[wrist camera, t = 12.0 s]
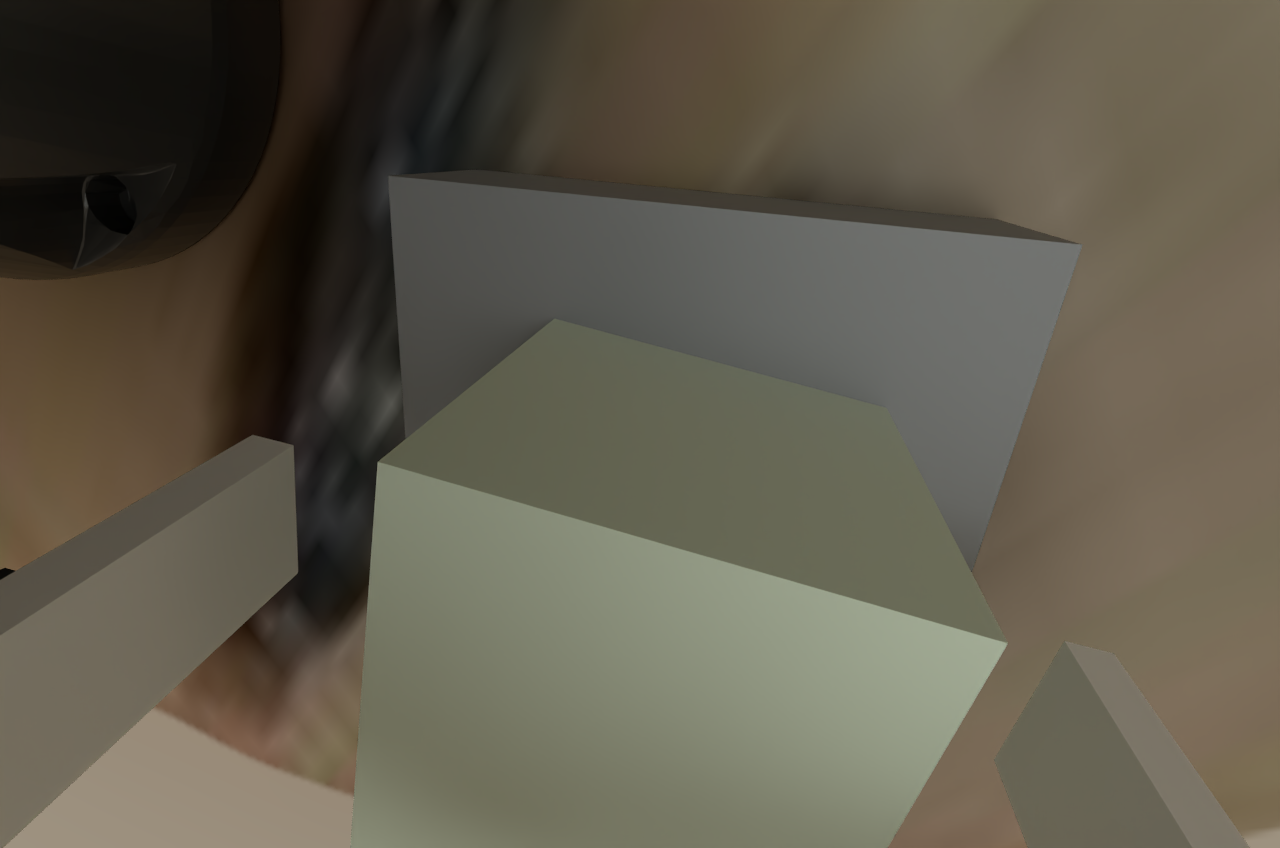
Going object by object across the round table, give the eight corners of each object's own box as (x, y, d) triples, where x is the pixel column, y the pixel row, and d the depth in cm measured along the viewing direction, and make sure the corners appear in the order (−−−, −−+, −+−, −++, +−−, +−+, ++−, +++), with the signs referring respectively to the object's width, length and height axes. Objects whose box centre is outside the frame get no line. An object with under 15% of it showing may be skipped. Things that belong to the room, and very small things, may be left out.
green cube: (507, 585, 16) (349, 857, 10) (554, 318, 14) (378, 461, 7) (779, 665, 16) (795, 1003, 10) (886, 407, 13) (1007, 642, 7)
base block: (488, 570, 23) (421, 675, 18) (483, 168, 18) (387, 175, 13) (873, 636, 21) (905, 768, 17) (990, 217, 16) (1082, 244, 12)
